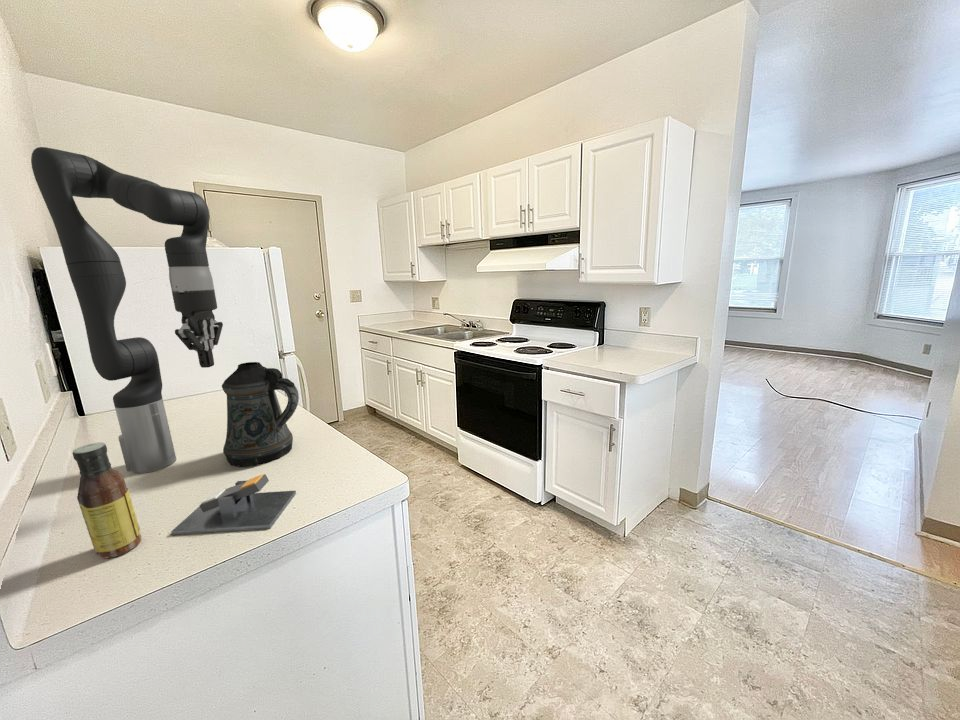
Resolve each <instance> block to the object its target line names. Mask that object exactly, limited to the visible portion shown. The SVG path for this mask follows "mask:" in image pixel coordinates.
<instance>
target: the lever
mask: <svg viewBox="0 0 960 720" xmlns="http://www.w3.org/2000/svg"><path fill="white" fill-rule="evenodd" d="M245 481H246V482H243V483H241V484H238V485H235V484H234V485H233V486H230V487H228V488H222V489H220V490H217V491H214V492H212V493H210V494H209V495H208V496H207V497H205V499H204V500H202V501H201V502H200V504H199V505H198V507H199V506H200V508H201V509H202V511H203V512H206V511H208V510H211V509H214V508H216V507H219V504H218V499H219V498H220V497H229V496H234V501H235V500H238V499H240V498H243V497H245V496H248V495H251V494H253V493H260V491H261V490H262V489H263V488H264V487H265V486H266V484H268V483H269V481H270V480H269V478H268V476H267V474H259V475H257V476H254V477H252V478H249V479H248V481H247V480H245Z"/></svg>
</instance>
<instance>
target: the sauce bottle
mask: <svg viewBox="0 0 960 720" xmlns="http://www.w3.org/2000/svg"><path fill="white" fill-rule="evenodd" d="M72 457H73V460H75V461H76V464H77V466H78V469H79V475H80V479H79V483H78V485H79V486H78V490H77V495H76V496H77V497H76V498H77V502H78V505H79V509H80V510H81V514H82V518H83V520H84V523H85V526H86V529H87V532H88V535H89V538H90V540H91V545H92V546H93V549H94V551H95V552H96V555H97V556H98V557H99V558H104V559H109V558H110V559H111V558H115V557H118V556H121V555H124V554H126V553H128V552H130V551H131V550H132V549H134V548H135V547H137V546H138V545H139V544H140V542H141V541H142V535H141V528H140V524H139V520H138V518H137V513H136V511H135V507H134V504H133V501H132V496H131V494H130V490H129V488H128V487H127V484H126V481H125V480H126V479H125V478H124V476H123V474H121V473H120V471H119V470H116V469H114V468H113V467H112V464H111V462H110V459H109V456H108V447H107V444H106V443H105V442H102V441H101V442H100V441H99V442H93V443H89V444H85V445H82V446H79V447H76V448H75V449H74V450H73V451H72Z"/></svg>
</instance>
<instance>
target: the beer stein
mask: <svg viewBox="0 0 960 720" xmlns="http://www.w3.org/2000/svg"><path fill="white" fill-rule="evenodd" d="M221 388H222V390H223V392H224V394H225V395H226V410H227V411H226V417H227V419H226V437H225V441H224V445H223V449H222V451H223V454H224V456H225V458H226V461H227V463H228V464H229V465H230V466H233V467H238V468H247V467H257V466H261V465H265V464H269V463H272V462H274V461H278V460H279V459H282V458H283V457H284V456H286V455H287V454H289V453H290V452H291V451H292V449H293V441H294V437H293V433H292V431H290V429H289V427H288V424H287V422H288V421H289V420H290V419H291V417H292V416H293V415H294V413H295V412H296V410H297V409H298V408H297V407H298V404H299V398H300V397H299V395H300V394H299V391H298V388H297V387H296V385H295V383H294V382H293V381H291V379H289V378H286V377H284V378H283V373H282V372H281V371H280V370H279V369H278V368H274V367H273V368H272V367H266V366H264V365H262V364H261V362H258V361H249V362H243V363H238V364H237V368H236V369H235V370H234V371H233V372H232V373H231V374H230V375H229V376H228V377H227V378H225V380H224V381H223V383H221ZM277 390H278V391H279V390H280V391H282V392H284V393H285V394H286V396H287V404H286V406H285V408H284V410H283V411H282V409H281V408H282V407H281V405H280V402H279V399H278V396H277V393H276V391H277Z"/></svg>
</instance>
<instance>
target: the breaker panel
mask: <svg viewBox="0 0 960 720" xmlns="http://www.w3.org/2000/svg"><path fill="white" fill-rule="evenodd" d="M248 480H249V479H248ZM248 480H237V481H236V482H235V484H234V486H235V485H238V484H241V483H243V482H246V481H248ZM296 494H297V490H285V491H284V490H283V491H282V490H281V491H267V492H265V491H264V492H256V493H253V494H251V495H248V496H245V497H243V498H240V499H238V500H235V501H234V496H229V497H220V498H219V499H218V504H219V507H216V508H214V509H211V510H208V511H206V512H203V511H202V509H201V508H200V506H199V505H198V506H197V508H195V510H194V511H192V512H191V513H190V514H189V515H188V516H187V517H186V518H185V519H184V520H182V521H181V522H180V523H179V524H178V525H177V526H175V527H174V528H173V529H172V530H171V532H170V533H171V536H179V535H197V534H210V533H211V534H212V533H226V532H227V533H228V532H238V531H253V530H270V529H271V528H272V527H273V526H274V524H275V523H276V522H277V520H279V518H280V516H282V514H283V512H284V511H285V510H286V508H287V507H288V506H289V504H290V502H291V501H292V500H293V498H294V497H295V496H296Z"/></svg>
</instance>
